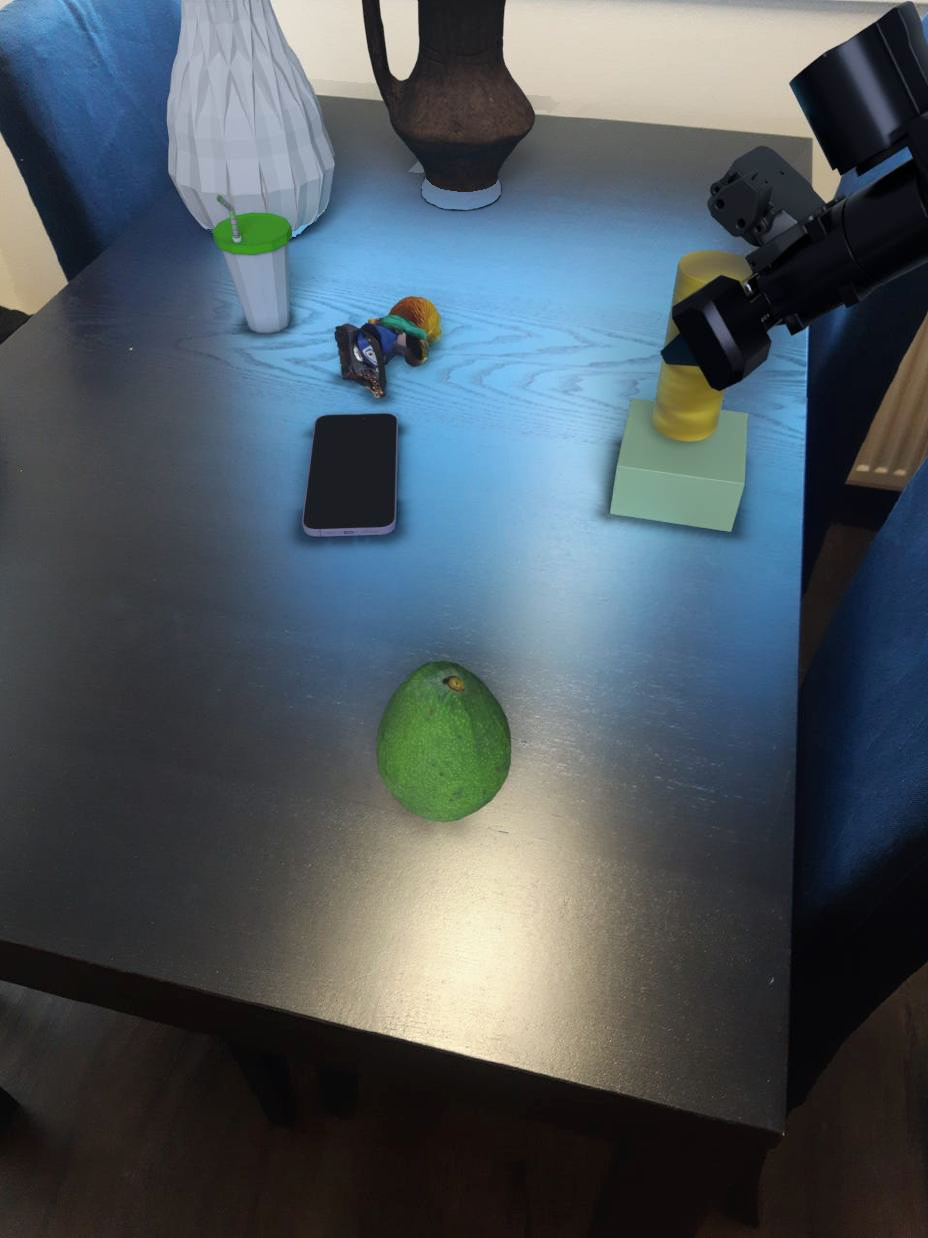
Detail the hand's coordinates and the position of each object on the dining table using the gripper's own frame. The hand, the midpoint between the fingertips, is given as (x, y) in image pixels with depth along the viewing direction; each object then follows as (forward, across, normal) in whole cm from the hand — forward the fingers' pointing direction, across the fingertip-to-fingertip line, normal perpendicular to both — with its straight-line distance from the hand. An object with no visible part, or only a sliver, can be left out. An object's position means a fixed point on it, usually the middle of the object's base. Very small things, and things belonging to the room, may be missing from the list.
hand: (683, 342), depth 67 cm
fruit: (+5, +35, +14) cm, 38 cm away
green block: (+9, -1, +10) cm, 14 cm away
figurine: (+31, +2, -12) cm, 34 cm away
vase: (+56, -12, -38) cm, 69 cm away
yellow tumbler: (+4, 0, +6) cm, 7 cm away
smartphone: (+24, +17, -5) cm, 30 cm away
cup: (+43, +4, -24) cm, 49 cm away
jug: (+48, -36, -30) cm, 67 cm away
